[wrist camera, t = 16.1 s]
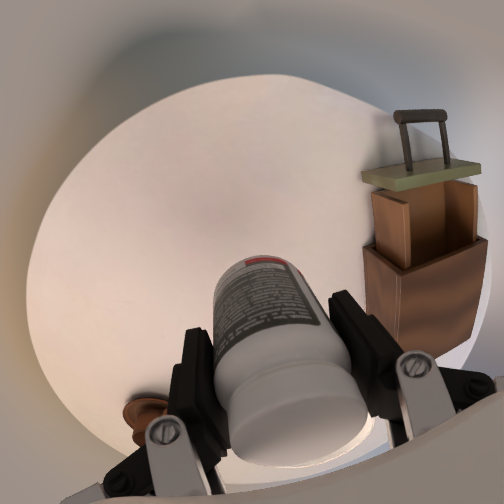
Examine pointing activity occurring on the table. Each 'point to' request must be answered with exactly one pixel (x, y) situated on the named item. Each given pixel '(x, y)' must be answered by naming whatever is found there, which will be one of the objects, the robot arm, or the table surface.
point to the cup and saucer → (143, 416)
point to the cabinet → (427, 297)
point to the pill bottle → (281, 367)
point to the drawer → (423, 200)
